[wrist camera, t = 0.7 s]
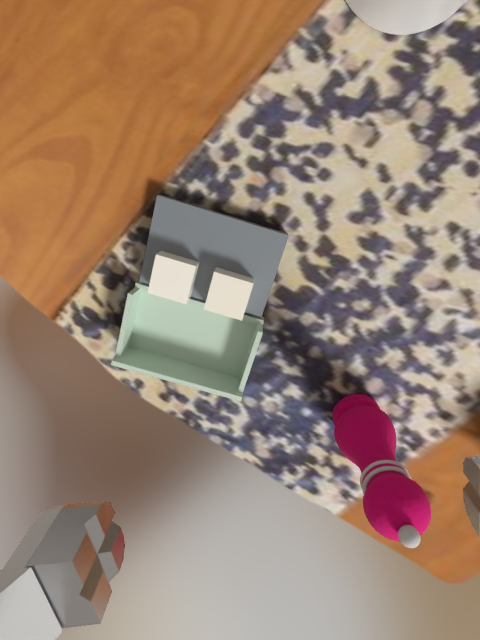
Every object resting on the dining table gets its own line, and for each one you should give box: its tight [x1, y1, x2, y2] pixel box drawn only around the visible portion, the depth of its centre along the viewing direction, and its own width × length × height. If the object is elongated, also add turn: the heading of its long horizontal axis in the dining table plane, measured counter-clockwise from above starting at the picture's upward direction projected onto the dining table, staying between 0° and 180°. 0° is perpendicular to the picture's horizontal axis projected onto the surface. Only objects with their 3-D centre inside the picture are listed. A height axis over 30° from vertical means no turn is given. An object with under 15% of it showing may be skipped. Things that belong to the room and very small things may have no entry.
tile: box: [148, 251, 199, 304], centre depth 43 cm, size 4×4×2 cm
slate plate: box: [139, 195, 289, 317], centre depth 44 cm, size 10×15×2 cm, turn 74°
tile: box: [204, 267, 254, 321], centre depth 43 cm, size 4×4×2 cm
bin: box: [111, 281, 264, 401], centre depth 46 cm, size 10×16×5 cm, turn 74°
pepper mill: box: [333, 394, 431, 548], centre depth 42 cm, size 7×7×20 cm
